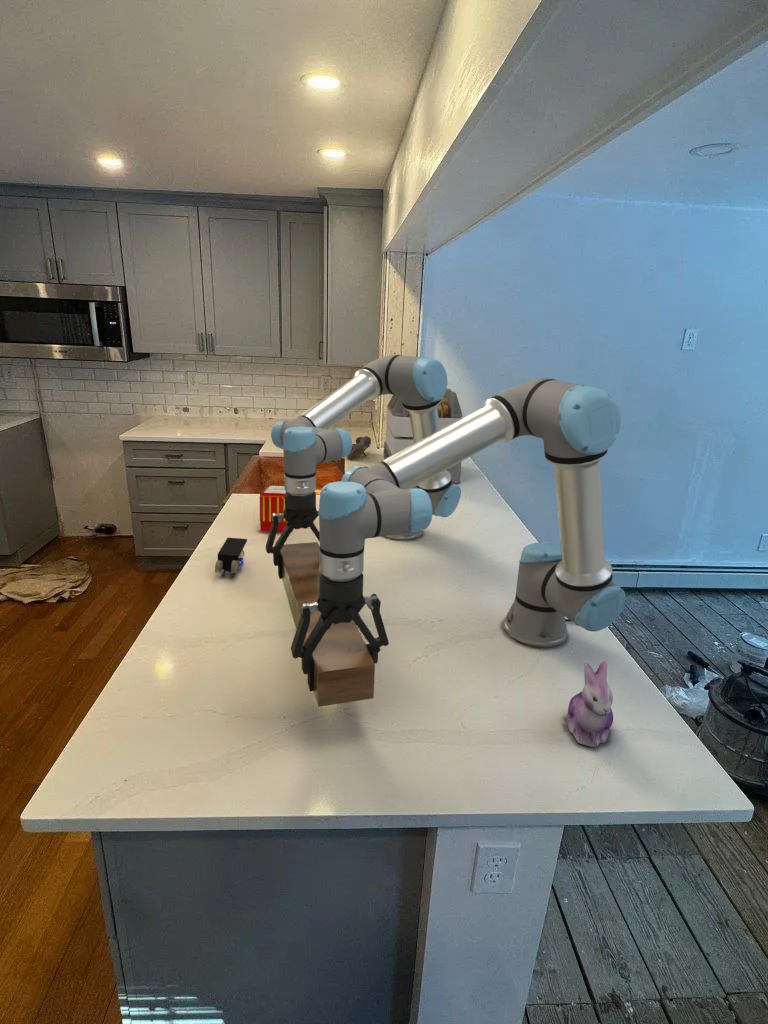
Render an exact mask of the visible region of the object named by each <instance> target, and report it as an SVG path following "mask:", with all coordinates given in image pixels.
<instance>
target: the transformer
mask: <svg viewBox="0 0 768 1024" xmlns="http://www.w3.org/2000/svg"><path fill="white" fill-rule="evenodd" d="M437 409H438V417H439V424H440V430H441V429H443V428H445V427H447V426H449V425H451V424H453V423H455V422H457V421H458V420H460V419H462V418H463V411H462V408H461V405H460V402H459V398H458V395H457V392H455V391H453V390H452V389H451V388H447V386H446V392H445V395H444V396H443V398H442V399H441V402H440V404H439V405H438V406H437ZM385 414H386V415H385V423H386V428H385V438H384V442H383V460H385V459H386V458H388V457H390V456H392V455H394V454H396V453H398V452H400V451H402V450H404V449H405V448H407V447H409V446H411V445H413V444H414V439H413V433H412V427H411V422H410V416H409V411H408V410H406V409H405V408H404V407H403V405H402V399H401V396H397V395H391V398H390V400H389V402H388V404H387V405H386V413H385ZM462 462H463V461H461V462H460V463H458V464H456V465H454V466H452V467H450V468H448V469H447V471H448V472H450V474H451V477H452V483H453V484H459V483H461V472H462Z"/></svg>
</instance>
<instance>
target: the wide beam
mask: <svg viewBox="0 0 768 1024" xmlns="http://www.w3.org/2000/svg"><path fill="white" fill-rule="evenodd" d="M319 549H320V544H319V543H318V541H311V542H310V541H309V542H300V543H298V542H297V543H284V545H283V547H282V549H281V550H280V551H281V554H282V579H281V580H282V584H283V588H284V591H285V594H286V599H287V602H288V605H289V609H290V613H291V616H292V620H293V623H294V627H295V630H296V629H297V626H298V623H299V619H300V616H301V603H302V602H303V601H306V602H307V603H308V604H309V603H315V602H317V600H318V598H319V575H320V571H319ZM320 615H321V612H320V611H319V610H316V611H315V612H314V615H313V617H310V624H309V627H308V631H307V634H306V637H305V640H304V643H305V642H306V640H307V638H308V637H309V635H310V633H311V632H312V630H313V629H314V627H315V625H316V624H317V622H318V620H319V616H320ZM304 643H303V645H304ZM365 644H366V643H365V641H364V638H363V636H362V633H361V631H360V629H359V628H358V626H357V625H356V624H355V622H354V621H353V620H352V621H351V622H349V623H344V622H341V623H339V624H333V623H332V625H331V627H330V628H329V629H328V630H327V631H326V632H325V634H324V635H323V637H322V639H321V640H320V642H319V644H318V645H317V647H316V648H315V650H314V652H313V653H312V655H313V658H314V691H313V693H314V694H313V695H314V698H315V702H316V706H317V708H323V707H329V706H334V705H341V704H347V703H352V702H359V701H366V700H372V699H374V698H375V674H376V671H375V670H376V664H374V662H373V659H372V657H371V655H370V653H369V651H368V649H367V647H366V645H365ZM302 647H303V646H302Z"/></svg>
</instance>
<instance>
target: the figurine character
mask: <svg viewBox="0 0 768 1024" xmlns="http://www.w3.org/2000/svg"><path fill="white" fill-rule="evenodd" d="M247 542H248V538H240V537H226V539H225V541H224V543H223V544H222V546H221V547H220V549H219V551H218V552H217V560H216V562H215V564H214V572H215V573H221V577H222V578H224V577H225V576H226V574H227V573H230V574H231V573H232V574H231V578H234V577H235V575H236V573H237V572H239V571H240V567H242V566H243V565H244V564H245V562H244V558H245V551H244V547H245V546H246V544H247Z"/></svg>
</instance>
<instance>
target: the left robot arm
mask: <svg viewBox="0 0 768 1024" xmlns="http://www.w3.org/2000/svg"><path fill="white" fill-rule="evenodd" d="M447 386H448V374H447V370H446V369H445V366H444V365H443V364H442V363H441V362H440V361H439V360H437V359H435V358H430V357H427V356H412V355H403V354H402V355H401V354H388V355H385V356H382V357H378V358H377V359H375V360H373V361H371V362H369V363H367V364H365V365H364V366H362V367H360V368H359V369H358V370H356V371H355V373H354V375H353V378H351V379H349V380H348V381H347V382H345V383H344V384H343V385H341V386H340V387H338V388H337V389H336V390H334V391H333V392H331V393H330V394H328V395H327V396H325V397H324V398H323V399H321V400H320V401H318V402H317V403H316V404H313V406H311V407H309V408H308V409H307V410H306V411H304V412H303V413H301V414H300V415H298V416H297V417H295V418H294V419H292V420H291V421H290V420H279V421H277V422H276V423H275V424H274V425H273V426H272V429H271V433H270V438H271V441H272V443H273V445H274V446H275V447H276V448H278V449H281V450H283V472H284V475H283V479H284V480H283V481H284V482H283V483H284V484H283V486H284V487H285V491H286V493H285V510H284V512H283V513H280V514H277V513H273V514H272V520H273V522H272V525H271V529H270V531H268V532H269V533H268V536H267V540H266V544H265V547H264V548H265V551H266V553H267V554H272V561H273V562H272V563H273V565H274V567H277V575H278V579H279V580H282V554H281V551H280V550H281V549H282V547H283V545H285V544H286V542H287V540H288V538H289V537H290V535H291V534H292V533H293V531H294V530H300V529H310V530H311V532H312V534H314V536H315V537H316V539H317V541H318V542H319V543H320V534H319V529H318V527H317V526H316V524H315V523H314V522H315V521H316V519H317V518H318V517H319V515H318V512H319V510H317V493H316V490H317V465H321V464H324V463H328V462H329V463H330V462H333V463H334V464H335V465H336V466H337V467H338V468H339V469H340V471H341V473H342V475H344V474H345V471H344V469H343V467H342V466H341V465H340V464H339V463H338V462H337V461H339V460H341V459H343V458H345V457H346V458H347V455H349V453H350V452H351V450H352V444H353V439H352V437H351V435H350V433H349V432H348V431H347V429H344V428H332V427H334V426H336V425H337V424H338V423H339V422H341V421H342V420H343V419H344V418H346V417H347V416H349V415H350V414H352V413H353V412H354V411H355V410H356V409H358V408H359V407H361V406H362V405H364V404H365V403H366V402H367V401H369V400H370V401H373V400H376V399H378V397H381V396H384V395H391V396H393V395H397V396H401V399H402V405H403V407H404V408H405V409H406V410H408V411H409V416H410V422H411V427H412V433H413V439H414V444H415V443H417V442H419V441H421V440H422V439H424V438H426V437H428V436H430V435H432V434H434V433H436V432H438V431H440V424H439V417H438V409H437V406H438V405H439V404H440V402H441V399H442V398H443V396H444V395H445V392H446V387H447ZM413 488H420V489H423V490H424V491H426V492H427V494H428V495H429V497H430V500H431V503H432V516H435V517H441V518H448V517H450V516H451V515H452V514H453V513H454V512H455V510H456V509H457V507H458V505H459V503H460V500H461V495H462V490H461V487H460V485H458V483H452V477H451V474H450V472H448V471H447V470H445V471H443V472H441V473H439V474H437V475H436V476H434V477H432V478H430V479H428V480H426V481H425V482H423V483H421V484H419V485H417V486H415V487H413ZM283 518H284V519H285V520H286V521H287V524H286V526H285V528H284V530H283V532H280V533H281V534H280V535H279V537H278V539H277V540H276V536H277V534H278V531H277V530H278V525H279V523H280V522H281V520H282V519H283ZM422 535H423V530H420V531H415V532H411V533H410V534H408V533H404V534H396V535H388V536H383V537H385V538H387V539H389V540H395V541H410V540H415V539H418V538H420V537H421V536H422ZM275 541H276V542H275ZM274 543H275V544H274Z"/></svg>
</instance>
